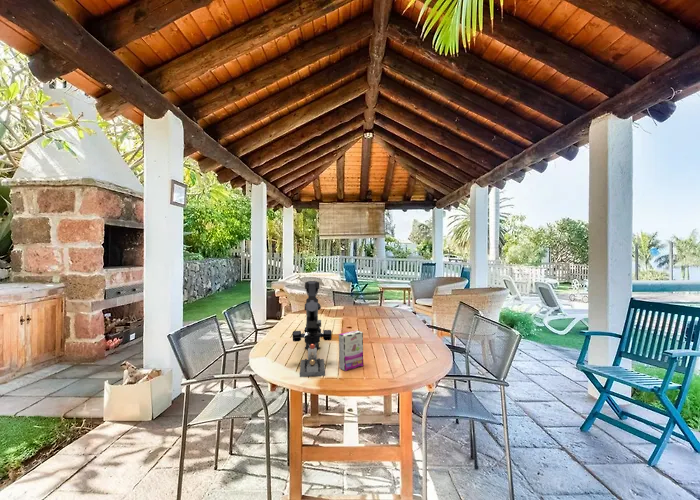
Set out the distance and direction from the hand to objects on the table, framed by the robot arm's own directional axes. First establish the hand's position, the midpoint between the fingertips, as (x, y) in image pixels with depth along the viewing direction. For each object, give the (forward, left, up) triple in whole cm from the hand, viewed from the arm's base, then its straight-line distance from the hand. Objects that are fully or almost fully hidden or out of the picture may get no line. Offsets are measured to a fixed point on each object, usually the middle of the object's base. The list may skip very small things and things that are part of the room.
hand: (312, 351), depth 159 cm
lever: (+1, +2, -5) cm, 6 cm away
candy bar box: (-15, +11, -8) cm, 20 cm away
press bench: (+1, +2, -8) cm, 8 cm away
